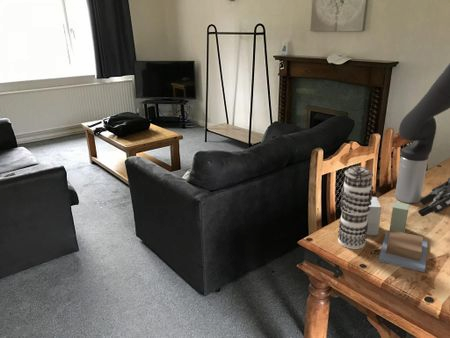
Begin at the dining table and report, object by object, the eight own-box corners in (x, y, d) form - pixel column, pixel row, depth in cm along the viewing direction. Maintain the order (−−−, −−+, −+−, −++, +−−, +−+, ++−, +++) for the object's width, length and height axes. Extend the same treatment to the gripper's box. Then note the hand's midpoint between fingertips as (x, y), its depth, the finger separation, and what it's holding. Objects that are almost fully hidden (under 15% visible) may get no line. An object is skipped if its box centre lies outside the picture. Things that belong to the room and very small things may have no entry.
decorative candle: (373, 243, 115) (382, 170, 106) (353, 253, 110) (361, 177, 101) (350, 231, 122) (357, 161, 113) (330, 239, 118) (336, 168, 109)
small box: (378, 236, 119) (381, 207, 115) (360, 234, 120) (363, 206, 116) (373, 223, 126) (377, 196, 122) (356, 222, 127) (359, 195, 123)
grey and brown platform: (385, 234, 119) (387, 224, 118) (427, 243, 114) (429, 232, 112) (378, 260, 106) (380, 249, 105) (424, 272, 101) (427, 260, 99)
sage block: (390, 225, 125) (394, 201, 122) (405, 228, 123) (409, 204, 119) (389, 231, 121) (392, 207, 118) (404, 234, 119) (408, 210, 116)
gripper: (461, 163, 112) (414, 190, 122) (462, 179, 101) (411, 208, 110) (477, 182, 112) (429, 207, 121) (481, 200, 100) (427, 227, 110)
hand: (420, 208), depth 116 cm, fingers open, 8 cm apart
